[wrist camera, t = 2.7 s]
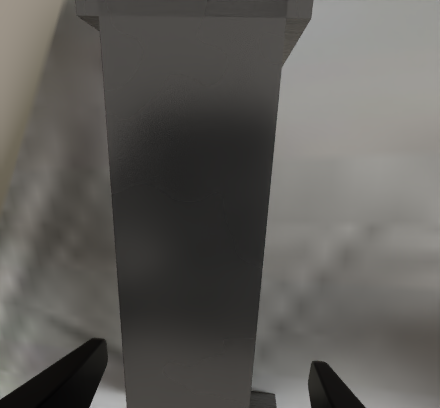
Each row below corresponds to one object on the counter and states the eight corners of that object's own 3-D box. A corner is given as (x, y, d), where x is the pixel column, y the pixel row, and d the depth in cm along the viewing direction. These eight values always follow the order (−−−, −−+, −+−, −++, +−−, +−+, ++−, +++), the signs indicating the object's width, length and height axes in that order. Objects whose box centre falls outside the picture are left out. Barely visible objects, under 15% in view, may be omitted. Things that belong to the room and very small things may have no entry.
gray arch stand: (323, 14, 10) (595, -381, 2) (272, 413, 15) (300, 695, 8) (143, 12, 10) (-136, -317, 3) (155, 400, 16) (73, 651, 8)
